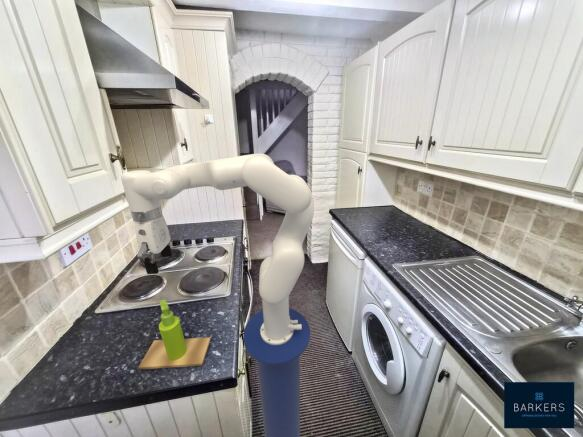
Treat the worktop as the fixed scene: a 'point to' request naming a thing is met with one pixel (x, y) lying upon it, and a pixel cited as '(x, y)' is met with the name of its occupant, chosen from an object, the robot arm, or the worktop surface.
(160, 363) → the chopping board
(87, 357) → the worktop surface
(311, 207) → the robot arm
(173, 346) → the soap dispenser
